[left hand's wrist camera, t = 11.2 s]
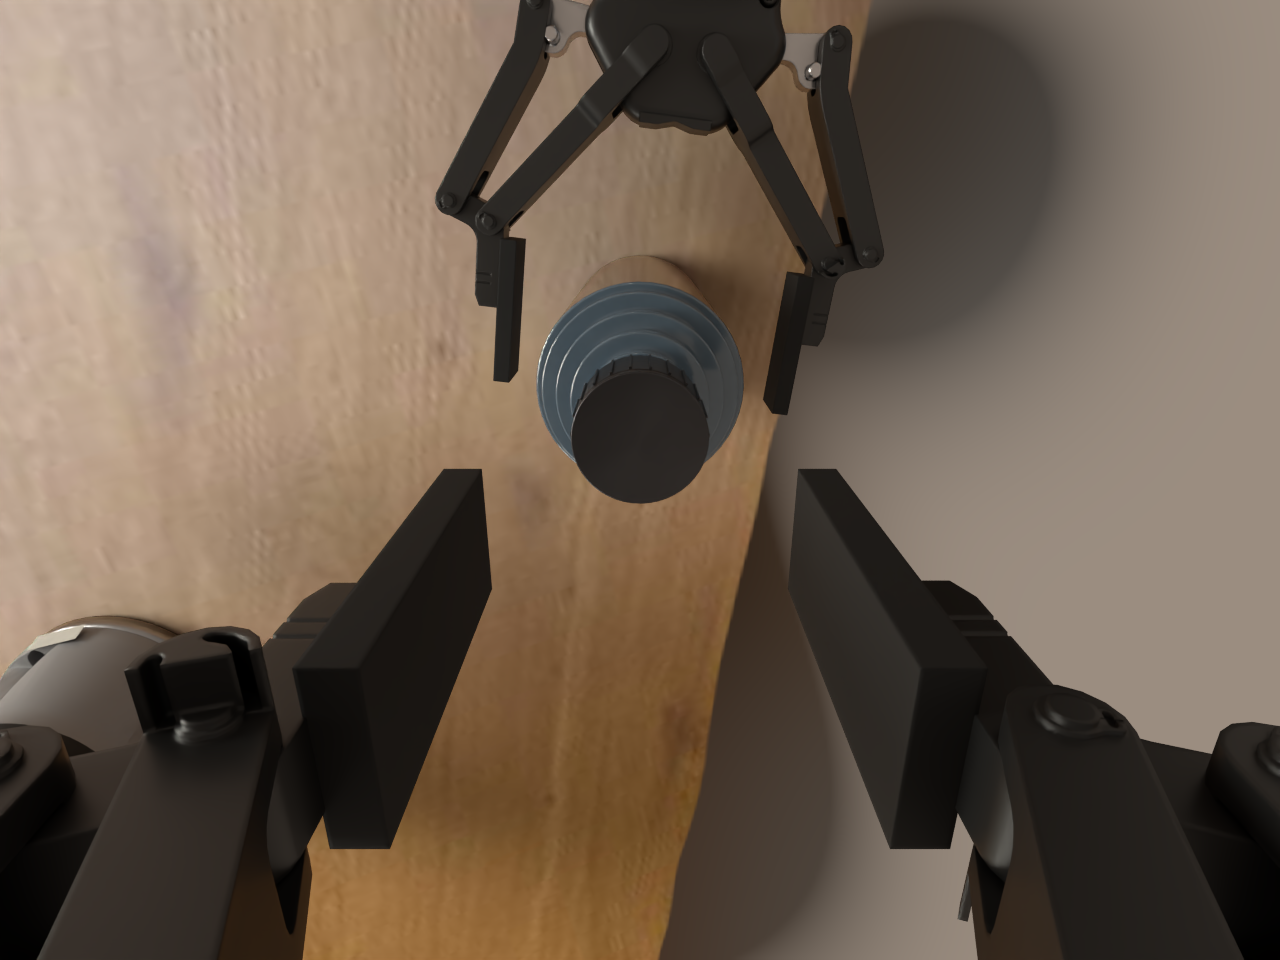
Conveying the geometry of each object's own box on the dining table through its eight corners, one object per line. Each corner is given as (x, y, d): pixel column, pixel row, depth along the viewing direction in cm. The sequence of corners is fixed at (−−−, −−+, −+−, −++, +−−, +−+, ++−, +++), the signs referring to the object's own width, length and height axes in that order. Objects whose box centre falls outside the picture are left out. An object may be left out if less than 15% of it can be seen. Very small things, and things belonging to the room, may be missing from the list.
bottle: (556, 277, 40) (469, 345, 20) (687, 238, 39) (738, 266, 19) (596, 404, 42) (556, 579, 22) (719, 369, 42) (795, 518, 21)
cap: (558, 373, 22) (549, 392, 20) (685, 337, 22) (691, 352, 19) (597, 489, 23) (592, 520, 21) (717, 457, 23) (725, 485, 21)
